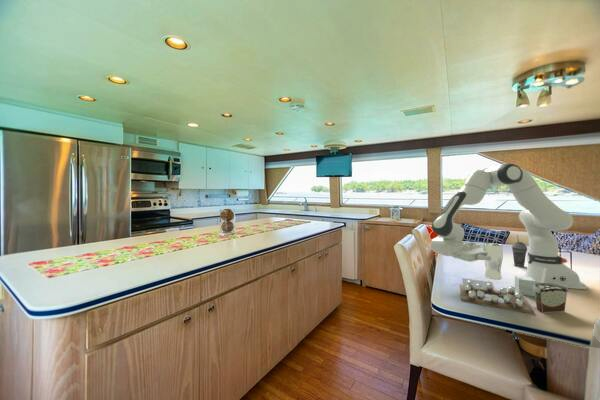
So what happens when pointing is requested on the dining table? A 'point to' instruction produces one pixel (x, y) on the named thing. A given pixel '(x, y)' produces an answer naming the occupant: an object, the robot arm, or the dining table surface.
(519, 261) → the beverage cup
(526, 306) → the board
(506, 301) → the spacers
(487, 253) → the silver metal tumbler
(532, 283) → the skincare box
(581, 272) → the dining table surface
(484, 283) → the grey mat
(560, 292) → the food container
